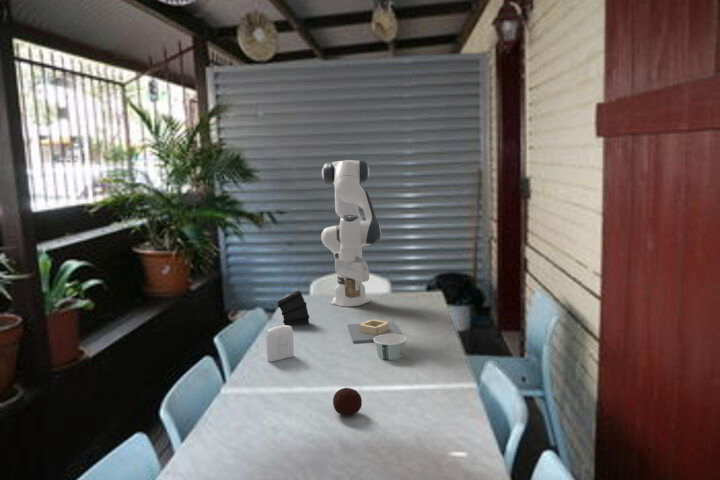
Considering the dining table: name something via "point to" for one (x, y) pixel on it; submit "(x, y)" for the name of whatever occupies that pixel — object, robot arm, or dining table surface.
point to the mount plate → (367, 336)
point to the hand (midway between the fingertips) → (352, 288)
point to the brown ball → (347, 401)
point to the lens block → (351, 289)
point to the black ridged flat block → (294, 310)
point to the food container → (390, 346)
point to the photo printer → (279, 343)
